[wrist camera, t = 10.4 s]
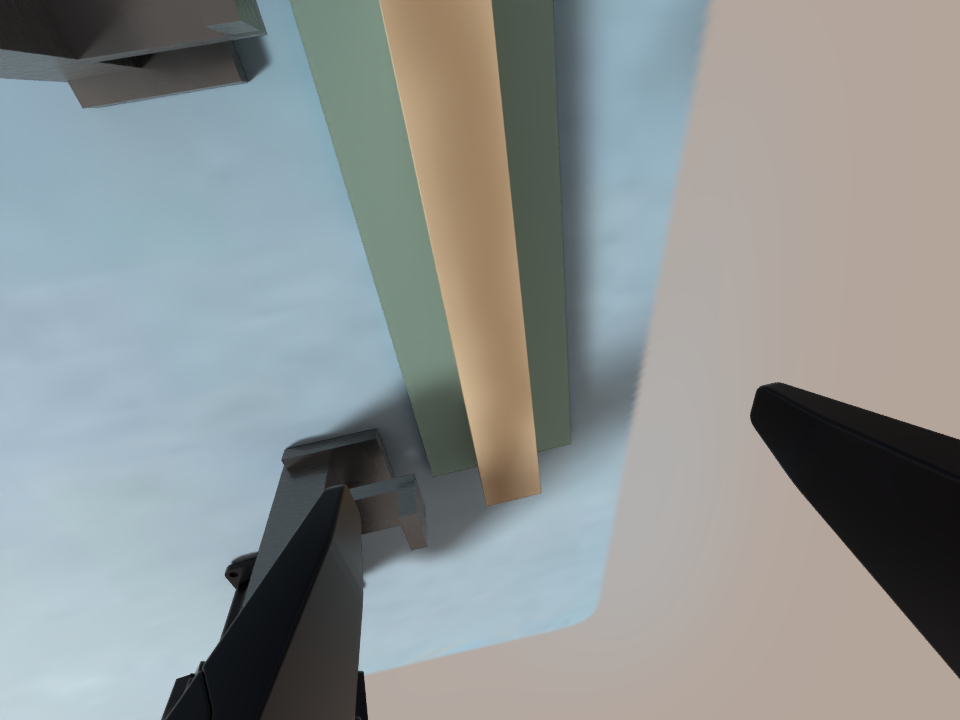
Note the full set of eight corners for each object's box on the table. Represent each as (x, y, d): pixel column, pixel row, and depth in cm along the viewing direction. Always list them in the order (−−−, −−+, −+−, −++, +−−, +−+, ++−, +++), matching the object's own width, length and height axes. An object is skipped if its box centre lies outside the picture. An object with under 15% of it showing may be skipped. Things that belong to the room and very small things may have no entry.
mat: (432, 469, 25) (433, 476, 25) (250, -139, 12) (244, -150, 12) (567, 437, 26) (571, 443, 26) (539, -177, 13) (544, -188, 12)
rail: (477, 465, 25) (487, 506, 23) (354, -113, 12) (345, -169, 10) (526, 454, 25) (541, 493, 23) (456, -126, 12) (472, -185, 10)
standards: (307, 499, 25) (275, 646, 18) (-1, -53, 12) (-498, -248, 5) (423, 471, 25) (435, 604, 19) (248, -87, 13) (83, -307, 6)
